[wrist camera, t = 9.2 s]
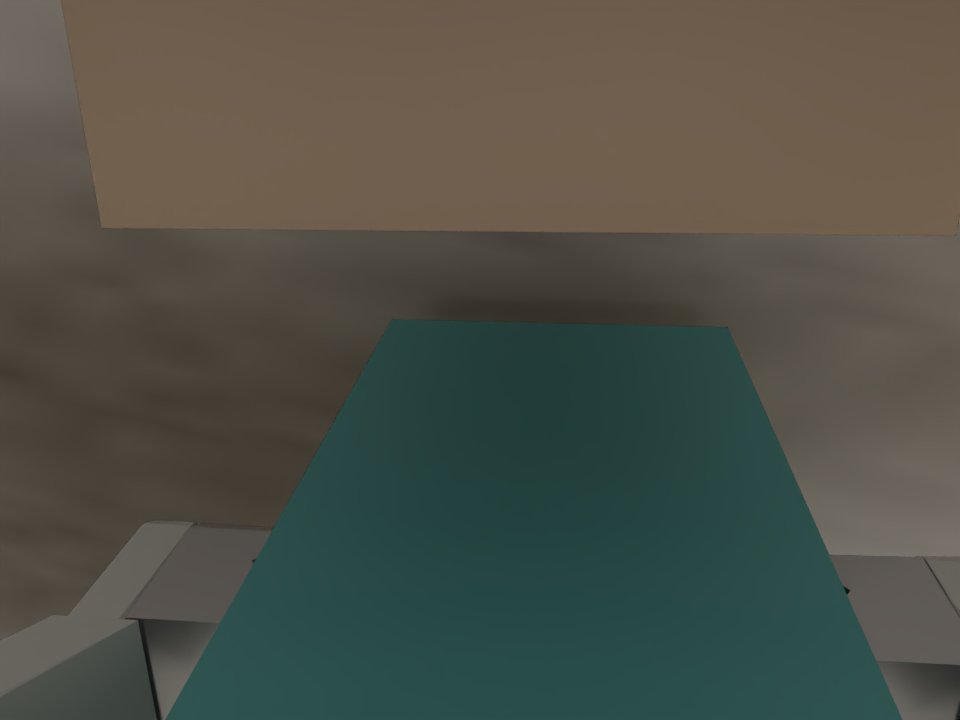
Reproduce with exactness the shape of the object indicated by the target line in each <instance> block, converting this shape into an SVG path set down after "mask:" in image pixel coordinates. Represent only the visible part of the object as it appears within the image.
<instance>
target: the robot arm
mask: <svg viewBox="0 0 960 720" xmlns="http://www.w3.org/2000/svg"><path fill="white" fill-rule="evenodd" d="M273 528H274V527H260V526H245V525H230V524H215V523H195V522H186V521H159V520H154V521H150V522H147V523H144V524H143V525H142V526H141V527H140V528H139V529H138V530H137V531H136V533H135V534H134V535H133V536H132V538H131V539H130V540H129V541H128V542H127V544H126V545H125V546H124V547H123V549H122V550H121V551H120V552H119V553H118V555H117V556H116V557H115V558H114V560H113V561H112V562H111V563H110V564H109V566H108V567H107V568H106V569H105V571H104V572H103V573H102V574H101V575H100V577H99V578H98V579H97V580H96V582H95V583H94V584H93V585H92V586H91V588H90V589H89V590H88V591H87V593H86V594H85V595H84V596H83V597H82V599H81V600H80V601H79V602H78V604H77V605H76V606H75V607H74V608H73V610H72V611H71V612H70V613H69V615H68V616H59V615H52V616H50V617H48V618H45V619H43V620H41V621H39V622H37V623H35V624H33V625H31V626H29V627H27V628H25V629H23V630H21V631H19V632H17V633H15V634H13V635H11V636H9V637H7V638H5V639H3V640H1V641H0V720H165V719H166V717H167V715H168V714H169V712H170V710H171V708H172V707H173V705H174V703H175V701H176V699H177V698H178V696H179V694H180V692H181V691H182V689H183V687H184V685H185V684H186V682H187V680H188V678H189V677H190V675H191V673H192V671H193V670H194V668H195V666H196V664H197V662H198V661H199V659H200V657H201V655H202V654H203V652H204V650H205V648H206V647H207V645H208V643H209V641H210V640H211V638H212V636H213V634H214V632H215V631H216V629H217V627H218V625H219V624H220V622H221V620H222V618H223V617H224V615H225V613H226V611H227V610H228V608H229V606H230V604H231V602H232V601H233V599H234V597H235V595H236V594H237V592H238V590H239V588H240V587H241V585H242V583H243V581H244V580H245V578H246V576H247V574H248V572H249V571H250V569H251V567H252V565H253V564H254V562H255V560H256V558H257V557H258V555H259V553H260V551H261V550H262V548H263V546H264V544H265V542H266V541H267V539H268V537H269V535H270V534H271V532H272V530H273ZM829 556H830V558H831V560H832V563H833V565H834V567H835V569H836V572H837V574H838V576H839V578H840V581H841V583H842V585H843V587H844V589H845V592H846V594H847V596H848V598H849V601H850V603H851V605H852V607H853V610H854V612H855V614H856V616H857V619H858V621H859V623H860V625H861V628H862V630H863V632H864V634H865V637H866V639H867V641H868V643H869V645H870V648H871V650H872V652H873V654H874V657H875V659H876V661H877V663H878V666H879V668H880V670H881V672H882V675H883V677H884V679H885V681H886V684H887V686H888V688H889V690H890V693H891V695H892V697H893V699H894V702H895V704H896V706H897V708H898V710H899V713H900V715H901V717H902V719H903V720H960V557H937V556H916V557H898V556H861V555H829Z"/></svg>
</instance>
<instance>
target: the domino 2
mask: <svg viewBox="0 0 960 720" xmlns="http://www.w3.org/2000/svg"><path fill="white" fill-rule="evenodd" d="M165 720H903V719H902V717H901V715H900V713H899V710H898V708H897V706H896V704H895V702H894V699H893V697H892V695H891V693H890V690H889V688H888V686H887V684H886V681H885V679H884V677H883V675H882V672H881V670H880V668H879V666H878V663H877V661H876V659H875V657H874V654H873V652H872V650H871V648H870V645H869V643H868V641H867V639H866V637H865V634H864V632H863V630H862V628H861V625H860V623H859V621H858V619H857V616H856V614H855V612H854V610H853V607H852V605H851V603H850V601H849V598H848V596H847V594H846V592H845V589H844V587H843V585H842V583H841V581H840V578H839V576H838V574H837V572H836V569H835V567H834V565H833V563H832V560H831V558H830V556H829V554H828V551H827V549H826V547H825V545H824V542H823V540H822V538H821V536H820V533H819V531H818V529H817V527H816V525H815V522H814V520H813V518H812V516H811V513H810V511H809V509H808V507H807V504H806V502H805V500H804V498H803V495H802V493H801V491H800V489H799V486H798V484H797V482H796V480H795V477H794V475H793V473H792V471H791V469H790V466H789V464H788V462H787V460H786V457H785V455H784V453H783V451H782V448H781V446H780V444H779V442H778V439H777V437H776V435H775V433H774V430H773V428H772V426H771V424H770V421H769V419H768V417H767V415H766V412H765V410H764V408H763V406H762V404H761V401H760V399H759V397H758V395H757V392H756V390H755V388H754V386H753V383H752V381H751V379H750V377H749V374H748V372H747V370H746V368H745V365H744V363H743V361H742V359H741V356H740V354H739V352H738V350H737V348H736V345H735V343H734V341H733V339H732V336H731V334H730V332H729V330H728V327H699V326H656V325H614V324H571V323H529V322H486V321H444V320H401V319H392V320H391V322H390V324H389V325H388V327H387V329H386V331H385V332H384V334H383V336H382V338H381V340H380V341H379V343H378V345H377V347H376V348H375V350H374V352H373V354H372V355H371V357H370V359H369V361H368V362H367V364H366V366H365V368H364V370H363V371H362V373H361V375H360V377H359V378H358V380H357V382H356V384H355V385H354V387H353V389H352V391H351V392H350V394H349V396H348V398H347V400H346V401H345V403H344V405H343V407H342V408H341V410H340V412H339V414H338V415H337V417H336V419H335V421H334V422H333V424H332V426H331V428H330V430H329V431H328V433H327V435H326V437H325V438H324V440H323V442H322V444H321V445H320V447H319V449H318V451H317V452H316V454H315V456H314V458H313V460H312V461H311V463H310V465H309V467H308V468H307V470H306V472H305V474H304V475H303V477H302V479H301V481H300V482H299V484H298V486H297V488H296V490H295V491H294V493H293V495H292V497H291V498H290V500H289V502H288V504H287V505H286V507H285V509H284V511H283V512H282V514H281V516H280V518H279V520H278V521H277V523H276V525H275V527H274V528H273V530H272V532H271V534H270V535H269V537H268V539H267V541H266V542H265V544H264V546H263V548H262V550H261V551H260V553H259V555H258V557H257V558H256V560H255V562H254V564H253V565H252V567H251V569H250V571H249V572H248V574H247V576H246V578H245V580H244V581H243V583H242V585H241V587H240V588H239V590H238V592H237V594H236V595H235V597H234V599H233V601H232V602H231V604H230V606H229V608H228V610H227V611H226V613H225V615H224V617H223V618H222V620H221V622H220V624H219V625H218V627H217V629H216V631H215V632H214V634H213V636H212V638H211V640H210V641H209V643H208V645H207V647H206V648H205V650H204V652H203V654H202V655H201V657H200V659H199V661H198V662H197V664H196V666H195V668H194V670H193V671H192V673H191V675H190V677H189V678H188V680H187V682H186V684H185V685H184V687H183V689H182V691H181V692H180V694H179V696H178V698H177V699H176V701H175V703H174V705H173V707H172V708H171V710H170V712H169V714H168V715H167V717H166V719H165Z"/></svg>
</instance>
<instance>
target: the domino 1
mask: <svg viewBox="0 0 960 720" xmlns="http://www.w3.org/2000/svg"><path fill="white" fill-rule="evenodd" d="M61 3H62V9H63V15H64V20H65V26H66V31H67V37H68V43H69V48H70V54H71V59H72V65H73V71H74V76H75V82H76V87H77V93H78V98H79V104H80V110H81V115H82V121H83V126H84V132H85V138H86V143H87V149H88V154H89V160H90V166H91V171H92V177H93V182H94V188H95V194H96V199H97V205H98V210H99V216H100V221H101V227H102V228H164V229H272V230H380V231H489V232H597V233H705V234H813V235H921V236H956V233H957V228H958V223H959V218H960V0H61Z"/></svg>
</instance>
